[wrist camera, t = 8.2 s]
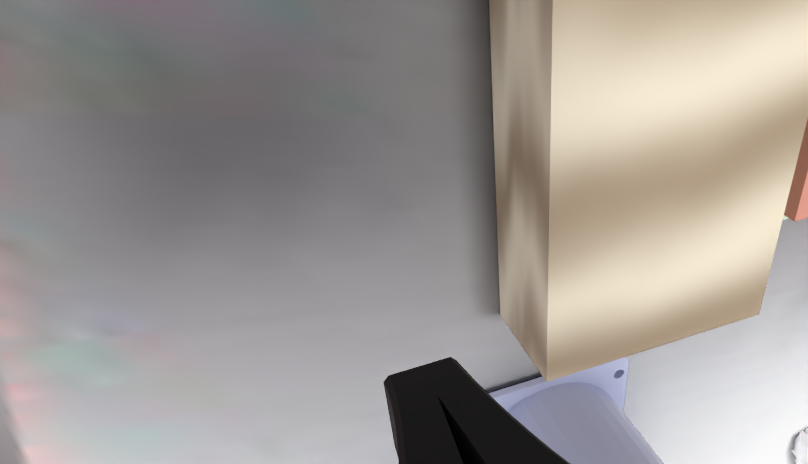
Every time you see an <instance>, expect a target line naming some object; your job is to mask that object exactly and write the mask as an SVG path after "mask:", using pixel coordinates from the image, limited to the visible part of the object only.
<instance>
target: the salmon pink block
mask: <svg viewBox="0 0 808 464" xmlns="http://www.w3.org/2000/svg"><path fill="white" fill-rule="evenodd" d="M784 215H785V216H786V217H788V218H790V219H791V220H793V221H798V220H801V219H805V218H808V119H807V123H806V127H805V131H804V135H803V139H802V143H801V147H800V151H799V155H798V159H797V163H796V167H795V171H794V176H793V180H792V184H791V188H790V192H789V196H788V200H787V204H786V208H785V212H784Z"/></svg>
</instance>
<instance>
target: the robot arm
mask: <svg viewBox="0 0 808 464" xmlns="http://www.w3.org/2000/svg"><path fill="white" fill-rule="evenodd" d="M628 364H629V361H628V359H627V358H626V357H623V358H620V359H617V360H614V361H611V362H607V363H604V364H601V365H598V366H595V367H592V368H589V369H585V370H582V371H579V372H576V373H573V374H570V375H567V376H563V377H560V378H557V379H554V380H551V381H548V382H546V380H545V379H544V378H543V376H542V377H539V378H536V379H533V380H529V381H526V382H523V383H520V384H517V385H514V386H510V387H507V388H504V389H501V390H498V391H495V392H491V393H487V392H486V391H485V390H484V389H483V388H482V387H481V386H480V385H479V384H478V383H477V382H476V381H475V380H474V379H473V378H472V377H471V376H470V375H469V374H468V373H467V371H466V370H465V369H464V368H463V367H462V366H461V365H460V364H459V363H458V362H457V361H456V360H455V359H453V358H451V357H449V358H446V359H443V360H439V361H436V362H433V363H429V364H426V365H423V366H419V367H416V368H413V369H409V370H406V371H403V372H399V373H396V374H393V375H389V376H388V377H387V378H386V380H385V381H384V387H385V392H386V398H387V404H388V409H389V415H390V421H391V426H392V432H393V438H394V443H395V448H396V451H397V455H398V458H399V464H664V463H663V462H662V461H661V459H660V458H659V457H658V456H657V454H656V453H655V452H654V451H653V449H652V448H651V447H650V445H649V444H648V443H647V442H646V440H645V439H644V438H643V437H642V435H641V434H640V433H639V432H638V430H637V429H636V428H635V427H634V425H633V424H632V423H631V421H630V420H629V419H628V418H627V416H626V415H625V414H624V413H623V409H624V400H625V391H626V382H627V373H628Z"/></svg>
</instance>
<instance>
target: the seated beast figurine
mask: <svg viewBox="0 0 808 464" xmlns="http://www.w3.org/2000/svg"><path fill="white" fill-rule="evenodd" d="M791 452H792V453H793V454H794V455H795V456H796V460H795V463H796V464H808V427H807V428H806V429H805V430H804V431H802V430H801V431H800V432H799V435H798V436H797V437H796V440H795V445H794V449H792V450H791Z"/></svg>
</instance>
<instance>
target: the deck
mask: <svg viewBox="0 0 808 464" xmlns="http://www.w3.org/2000/svg"><path fill="white" fill-rule="evenodd" d="M489 12H490V40H491V68H492V96H493V125H494V153H495V181H496V209H497V237H498V265H499V294H500V316H501V317H502V318H503V320H504V321H505V323H506V324H507V326H508V327H509V328H510V330H511V331H512V333H513V334H514V336H515V337H516V339H517V340H518V341H519V343H520V344H521V346H522V347H523V349H524V350H525V352H526V353H527V354H528V356H529V357H530V359H531V360H532V362H533V363H534V365H535V366H536V367H537V369H538V370H539V372H540V373H541V375H542V376H543V378H544V379H545V380H546V382H548V381H551V380H554V379H557V378H560V377H563V376H567V375H570V374H573V373H576V372H579V371H582V370H585V369H589V368H592V367H595V366H598V365H601V364H604V363H607V362H611V361H614V360H617V359H620V358H623V357H626V356H629V355H633V354H636V353H639V352H642V351H645V350H648V349H651V348H655V347H658V346H661V345H664V344H667V343H670V342H673V341H677V340H680V339H683V338H686V337H689V336H692V335H695V334H699V333H702V332H705V331H708V330H711V329H714V328H718V327H721V326H724V325H727V324H730V323H733V322H736V321H740V320H743V319H746V318H749V317H752V316H755V315H758V314H759V313H760V309H761V304H762V300H763V296H764V292H765V288H766V284H767V280H768V276H769V272H770V268H771V264H772V260H773V256H774V252H775V248H776V244H777V240H778V236H779V232H780V228H781V224H782V220H783V216H784V212H785V208H786V204H787V200H788V196H789V192H790V188H791V184H792V180H793V176H794V171H795V167H796V163H797V159H798V155H799V151H800V147H801V143H802V139H803V135H804V131H805V127H806V123H807V119H808V0H489Z"/></svg>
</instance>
